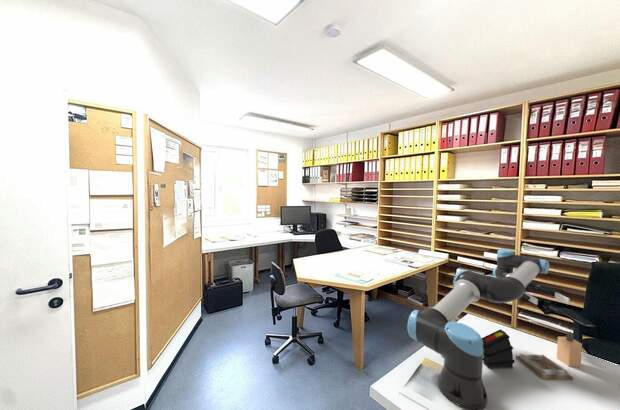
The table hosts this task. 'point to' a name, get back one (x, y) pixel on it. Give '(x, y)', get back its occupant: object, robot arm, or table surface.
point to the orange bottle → (569, 350)
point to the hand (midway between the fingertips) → (552, 301)
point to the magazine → (497, 350)
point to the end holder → (544, 367)
